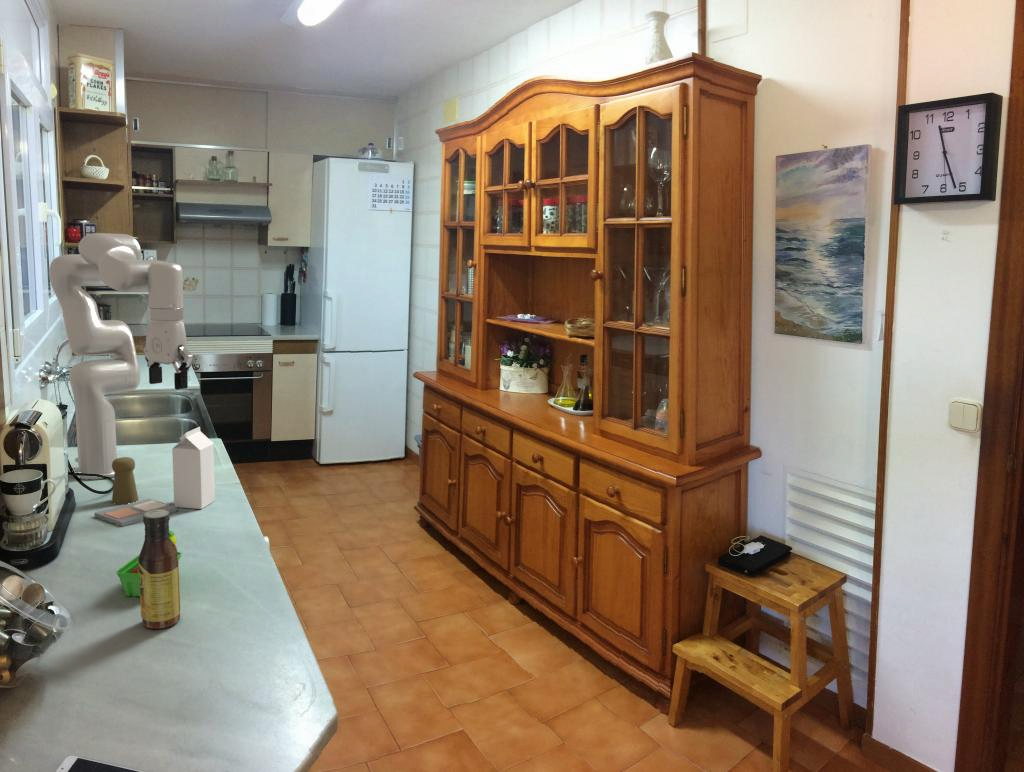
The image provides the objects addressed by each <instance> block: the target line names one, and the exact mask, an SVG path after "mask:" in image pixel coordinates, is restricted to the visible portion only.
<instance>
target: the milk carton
mask: <svg viewBox="0 0 1024 772" xmlns="http://www.w3.org/2000/svg"><path fill="white" fill-rule="evenodd" d="M179 440H180V441H179V442H178V443H176V445H174V446H173V447H172V449H171V450H172V451H171V453H172V477H173V478H172V479H173V480H172V481H173V506H174V507H177V508H181V509H183V508H184V509H199V510H203V509H204V508H206V507H207V506H209V505H210V504H212V503H214V502H215V500H216V495H215V494H216V491H215V490H216V488H215V487H216V486H215V456H214V454H215V453H214V452H215V447H214V442H213V441H212V440H211V439H210V438H208V437H207V436H206V435H205V434H204V433H203V432H202V431H201V427H200V426H198V427H196V428H193V429H191V430H189V431H187V432H185V433H184V434H183V435H181V436H180V437H179Z"/></svg>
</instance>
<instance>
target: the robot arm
mask: <svg viewBox="0 0 1024 772" xmlns="http://www.w3.org/2000/svg"><path fill="white" fill-rule="evenodd" d="M77 249H78V253H79V254H77V253H73V254H64V255H59V256H56V257H55V258H54V259H52V261H51V263H50V264H49V271H48V272H49V281H50V285H51V288H52V290H53V292H54V295H55V297H56V298H57V300H58V303H59V305H60V307H61V310H62V316H63V320H64V321H63V323H64V326H65V331H66V336H67V341H68V345H69V348H70V350H71V352H72V353H73V354H74V355H75V356H80V357H90V356H91V357H92V356H105V355H111V356H112V357H113V358H106V359H105V358H104V359H103V358H102V359H91V360H84V361H80V362H77V363H76V364H74V365H73V366H72V367H71V368H70V370H69V375H68V377H69V383H70V386H71V392H72V395H73V401H74V410H75V425H76V444H77V457H75V459H74V462H76V463H77V464H78V467H77V468H75V469H73V470H72V472H73V471H75V472H77V473H78V472H81V473H87V474H100V475H103V476H108V477H110V478H114V475H115V472H114V471H113V469H112V462H113V461H114V460H115V459H117V458H118V456H117V455H118V453H117V436H116V435H117V433H116V430H117V429H116V428H117V427H116V413H115V409H114V406H113V405H112V404H111V403H110V401H109V400H108V399H107V398H106V397H105V395H106V396H107V395H110V394H118V393H127V392H132V391H134V390H136V389H137V388H138V387H139V386H140V382H141V372H140V371H141V370H140V365H139V360H138V356H137V350H136V346H135V341H134V337H133V336H134V335H133V333H132V330H131V328H130V327H129V326H128V324H127V323H126V322H124V321H122V320H119V319H118V320H117V319H108V320H107V319H106V320H105V319H104V320H102V319H101V318H100V313H99V309H98V305H97V303H96V300H94V298H93V297H92V296H91V295H90V293H88V292H87V291H85V290H84V289H83V288H82V287H109V288H111V289H112V290H115V291H119V292H122V293H129V292H130V293H132V292H134V293H135V292H136V293H139V292H142V293H143V292H147V293H148V316H149V318H148V320H147V324H146V332H145V333H146V334H145V346H144V347H143V349H142V351H143V353H144V359H145V361H146V366H147V368H148V383H149V384H150V385H156V384H161V383H163V366H162V365H172V366H173V368H174V370H175V372H174V375H173V378H174V381H173V382H174V389H175V390H176V391H177V390H183V389H188V387H189V385H188V382H189V381H188V379H189V378H188V377H189V376H188V373H189V371H190V368H191V366H192V361H193V358H194V356H193V354H192V353H190V351H188V341H187V334H186V327H185V322H184V321H185V320H184V318H185V317H184V283H183V282H184V280H183V279H184V277H183V275H184V274H183V268H182V266H181V265H180V264H178V263H175V262H167V261H164V260H156V259H155V260H153V259H150V260H148V259H141V256H142V248H141V245H140V243H139V241H138V240H137V239H136V238H135V237H134V236H132V235H130V234H127V233H109V232H108V233H105V232H93V233H88V234H87V235H84V236H83V237H82V238H81V239H80V241H79V243H78V248H77ZM161 364H162V365H161ZM80 478H81V479H80V480H88V479H92V480H103V479H102V478H101V477H97V476H80Z"/></svg>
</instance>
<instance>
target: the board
mask: <svg viewBox="0 0 1024 772" xmlns="http://www.w3.org/2000/svg"><path fill="white" fill-rule="evenodd" d="M152 510H166V511H168V512H169V514H172V512H173V513H176V512H177V511H178V507H174V505H170V504H167V503H165V502H161V501H158V500H157V499H156V500H155V499H153V498H146V499H142V500H138V501H137V502H134V503H130V504H126V505H118V506H114V507H112V508H107V509H103V510H100V511H95V512H94V517H95V518H97V517H98V518H97V519H100V518H101V519H100V520H102V519H103V521H105V520H106V522H108V521H109V522H108V523H111V524H113V523H115V524H114V525H116V524H118V525H117V526H119V525H120V526H119V527H122V526H123V527H126V526H125V525H127V526H129V524H130V525H134V524H137V523H141V522H143V515H144V513H146V512H149V511H152ZM175 511H176V512H175ZM136 522H137V523H136ZM133 523H134V524H133Z"/></svg>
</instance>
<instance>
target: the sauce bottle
mask: <svg viewBox="0 0 1024 772" xmlns="http://www.w3.org/2000/svg"><path fill="white" fill-rule="evenodd" d="M169 521H170V513H169V512H168V511H166V510H152V511H149V512H146V513H144V515H143V521H142V523H143V524H144V541H143V544H142V547H141V549H140V553H139V554H140V555H139V554H138V555H139V558H138V568H139V586H140V597H139V603H140V616H141V619H142V625H143V626H144V627H145V628H147V629H153V630H158V629H159V630H160V629H161V628H162V629H167V628H170V627H169V626H171V627H172V626H174V625H175V624H177V623H178V622H180V619H181V610H182V609H181V589H180V588H181V585H180V565H179V564H180V563H178V553H177V552H178V548H177V545H176V546H175V544H174V543H173V542H172V541H171V539H170V538H169V536H170V533H169V530H170V523H169ZM166 627H167V628H166Z"/></svg>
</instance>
